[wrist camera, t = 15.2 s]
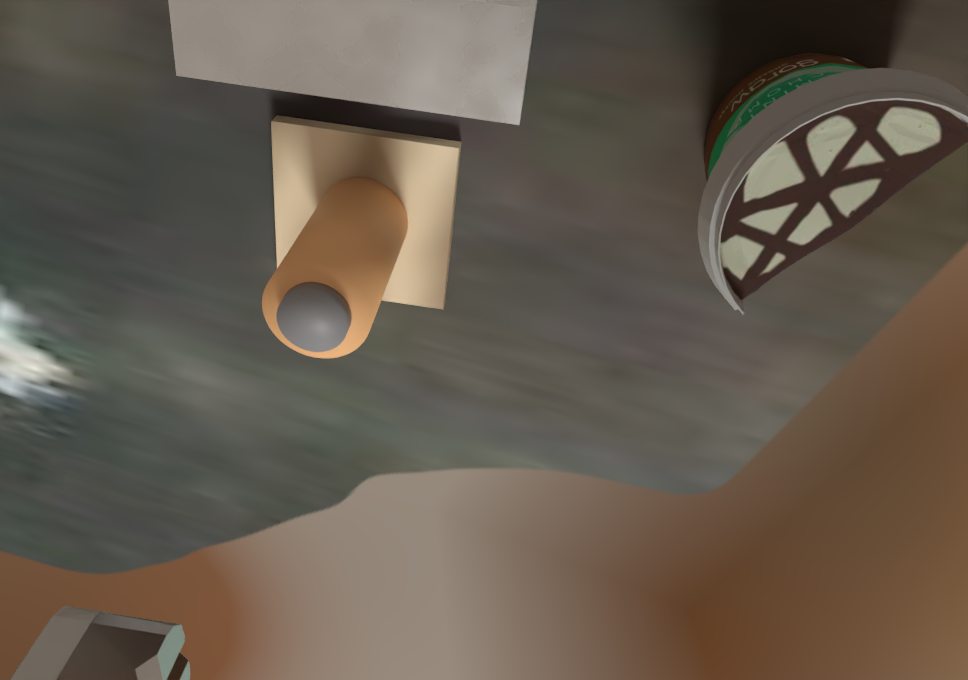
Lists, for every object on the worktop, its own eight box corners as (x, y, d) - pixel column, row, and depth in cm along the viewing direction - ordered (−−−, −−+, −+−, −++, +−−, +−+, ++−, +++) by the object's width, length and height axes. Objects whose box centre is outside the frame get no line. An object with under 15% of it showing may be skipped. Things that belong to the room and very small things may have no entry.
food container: (839, -37, 35) (921, 6, 27) (912, 63, 37) (1009, 131, 29) (628, 147, 41) (642, 230, 32) (702, 225, 43) (733, 322, 34)
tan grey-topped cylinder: (410, 184, 42) (369, 280, 33) (405, 265, 45) (366, 374, 36) (319, 171, 42) (253, 265, 33) (320, 253, 45) (259, 360, 36)
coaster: (461, 141, 41) (458, 148, 41) (445, 300, 47) (443, 309, 46) (277, 115, 42) (270, 121, 41) (283, 276, 47) (277, 284, 46)
